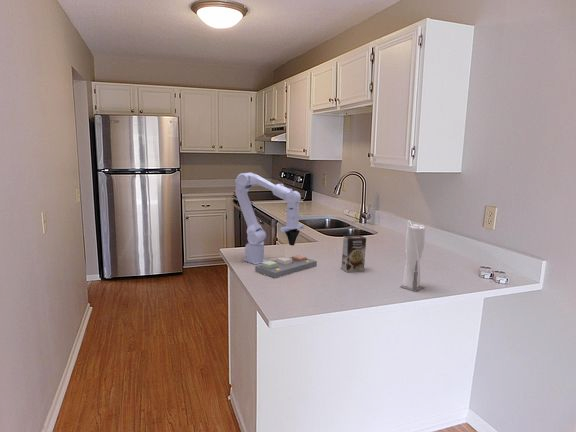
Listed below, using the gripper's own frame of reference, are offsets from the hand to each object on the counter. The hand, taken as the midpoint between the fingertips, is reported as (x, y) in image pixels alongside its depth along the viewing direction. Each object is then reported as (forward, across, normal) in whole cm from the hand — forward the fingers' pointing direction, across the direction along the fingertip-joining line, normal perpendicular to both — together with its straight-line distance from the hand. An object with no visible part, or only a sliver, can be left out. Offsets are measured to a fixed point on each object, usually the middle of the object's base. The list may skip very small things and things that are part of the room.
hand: (291, 245), depth 191 cm
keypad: (+10, -5, -2) cm, 11 cm away
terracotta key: (+10, +5, 0) cm, 11 cm away
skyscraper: (+10, +16, -54) cm, 57 cm away
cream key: (+9, -5, 0) cm, 10 cm away
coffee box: (+10, +17, -24) cm, 31 cm away
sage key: (+9, -15, 0) cm, 17 cm away
